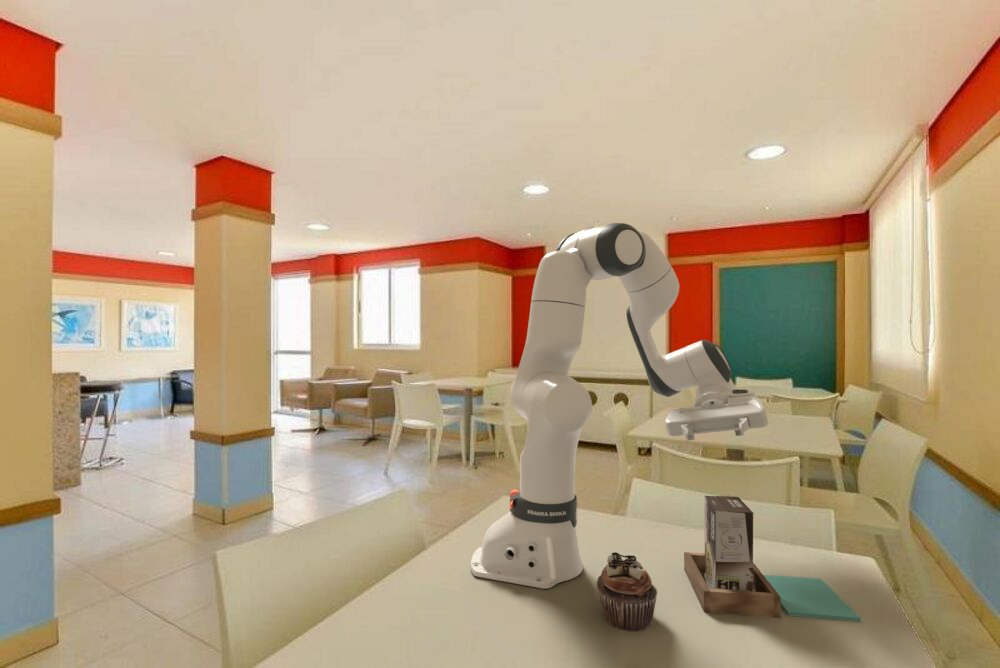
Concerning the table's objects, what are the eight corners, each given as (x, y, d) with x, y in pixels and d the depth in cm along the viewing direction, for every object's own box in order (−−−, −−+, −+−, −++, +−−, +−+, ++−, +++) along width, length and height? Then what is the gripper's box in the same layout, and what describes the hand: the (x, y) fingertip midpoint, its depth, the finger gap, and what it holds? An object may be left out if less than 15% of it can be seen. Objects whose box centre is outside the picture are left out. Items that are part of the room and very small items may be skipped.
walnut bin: (703, 611, 82) (703, 590, 82) (684, 569, 97) (684, 552, 97) (780, 618, 80) (780, 596, 80) (748, 574, 95) (748, 556, 95)
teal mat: (787, 615, 81) (787, 611, 81) (758, 577, 94) (758, 574, 94) (860, 621, 79) (860, 617, 79) (820, 581, 92) (820, 578, 92)
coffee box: (755, 607, 83) (754, 512, 83) (714, 603, 84) (714, 510, 85) (739, 581, 92) (739, 495, 92) (703, 577, 93) (703, 493, 94)
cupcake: (663, 637, 75) (663, 571, 75) (599, 632, 76) (599, 568, 76) (651, 603, 84) (651, 545, 85) (594, 599, 86) (594, 542, 86)
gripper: (665, 401, 115) (658, 426, 103) (761, 388, 106) (765, 414, 94) (671, 425, 116) (665, 453, 104) (767, 415, 107) (772, 444, 95)
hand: (713, 435), depth 99 cm, fingers open, 8 cm apart
